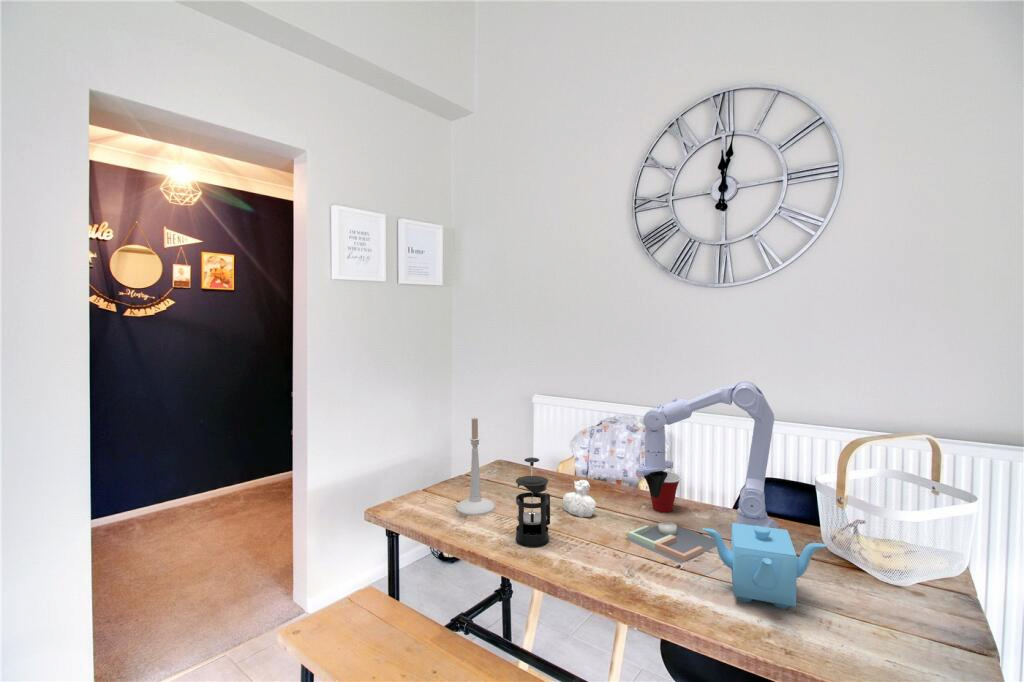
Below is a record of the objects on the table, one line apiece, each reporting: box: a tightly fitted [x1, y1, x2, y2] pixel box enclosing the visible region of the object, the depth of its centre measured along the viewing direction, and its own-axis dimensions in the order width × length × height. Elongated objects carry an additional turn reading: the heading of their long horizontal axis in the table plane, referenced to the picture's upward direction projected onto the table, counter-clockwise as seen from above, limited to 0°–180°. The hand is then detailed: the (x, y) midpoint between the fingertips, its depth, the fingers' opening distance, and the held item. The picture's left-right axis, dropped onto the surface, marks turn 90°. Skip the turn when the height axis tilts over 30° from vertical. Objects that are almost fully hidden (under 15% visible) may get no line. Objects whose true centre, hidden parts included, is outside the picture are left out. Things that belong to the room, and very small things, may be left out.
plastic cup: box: [649, 469, 682, 514], centre depth 162 cm, size 11×11×12 cm
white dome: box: [657, 521, 678, 535], centre depth 145 cm, size 5×5×2 cm
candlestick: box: [455, 417, 496, 517], centre depth 166 cm, size 13×13×30 cm
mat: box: [624, 525, 717, 564], centre depth 139 cm, size 18×19×1 cm
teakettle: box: [701, 522, 828, 610], centre depth 113 cm, size 19×19×15 cm
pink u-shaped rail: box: [655, 536, 703, 563], centre depth 133 cm, size 9×8×1 cm
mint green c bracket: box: [627, 524, 673, 549], centre depth 141 cm, size 9×8×1 cm
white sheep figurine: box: [562, 479, 597, 518], centre depth 162 cm, size 12×8×11 cm
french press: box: [515, 457, 551, 549], centre depth 142 cm, size 12×9×23 cm
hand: (655, 496), depth 148 cm, fingers closed
